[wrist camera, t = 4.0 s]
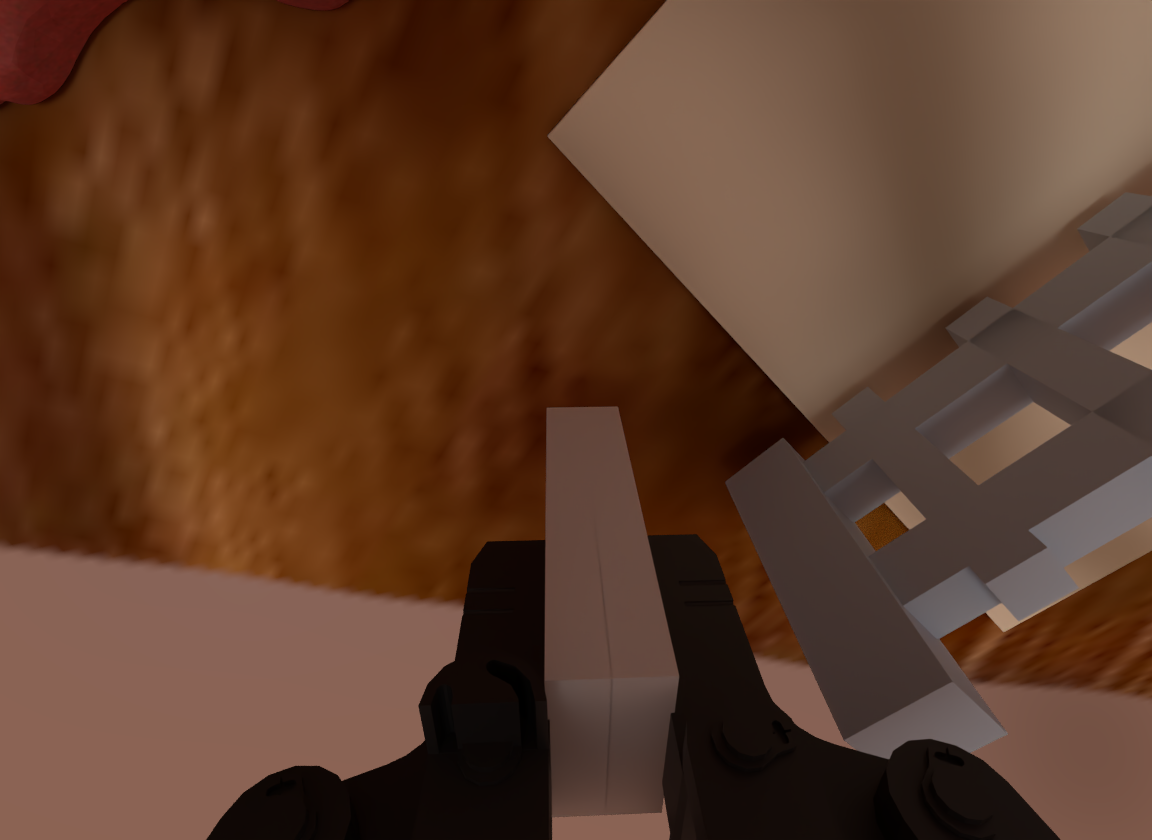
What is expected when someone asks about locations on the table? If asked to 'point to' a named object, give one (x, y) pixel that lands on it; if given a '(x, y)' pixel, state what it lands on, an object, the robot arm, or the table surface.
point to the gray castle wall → (963, 494)
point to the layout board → (875, 182)
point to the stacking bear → (59, 41)
